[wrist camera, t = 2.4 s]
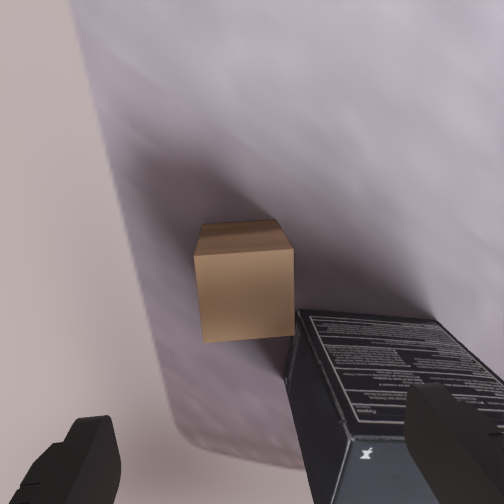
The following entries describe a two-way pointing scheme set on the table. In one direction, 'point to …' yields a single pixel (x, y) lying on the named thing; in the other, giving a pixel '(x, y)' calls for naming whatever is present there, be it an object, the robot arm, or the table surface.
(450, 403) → the robot arm
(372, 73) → the table surface
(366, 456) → the small box
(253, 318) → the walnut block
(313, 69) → the table surface
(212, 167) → the table surface
